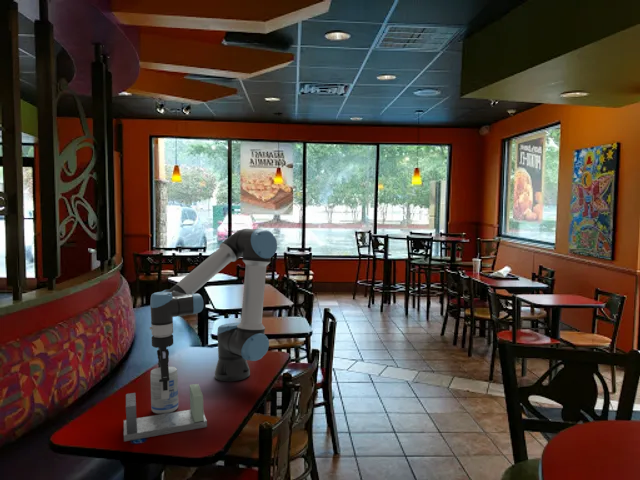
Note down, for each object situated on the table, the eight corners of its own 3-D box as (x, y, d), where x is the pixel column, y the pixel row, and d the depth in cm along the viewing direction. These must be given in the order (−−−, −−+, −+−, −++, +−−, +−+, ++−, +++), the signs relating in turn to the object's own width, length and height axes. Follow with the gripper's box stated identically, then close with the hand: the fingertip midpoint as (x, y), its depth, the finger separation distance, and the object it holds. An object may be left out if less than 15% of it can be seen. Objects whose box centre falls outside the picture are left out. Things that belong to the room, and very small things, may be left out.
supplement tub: (168, 416, 175) (166, 375, 174) (145, 413, 178) (144, 373, 177) (183, 405, 184) (182, 367, 183) (162, 403, 187) (160, 365, 186)
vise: (202, 413, 177) (200, 383, 176) (207, 426, 166) (206, 394, 165) (124, 426, 167) (122, 394, 167) (123, 441, 156) (122, 407, 155)
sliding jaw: (198, 407, 176) (198, 383, 176) (203, 420, 165) (202, 395, 164) (190, 408, 175) (189, 384, 175) (194, 422, 164) (193, 396, 163)
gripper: (149, 328, 189) (151, 382, 190) (153, 344, 166) (155, 406, 167) (170, 326, 192) (171, 379, 193) (176, 342, 169) (177, 402, 170)
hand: (164, 392), depth 180 cm, fingers open, 13 cm apart
